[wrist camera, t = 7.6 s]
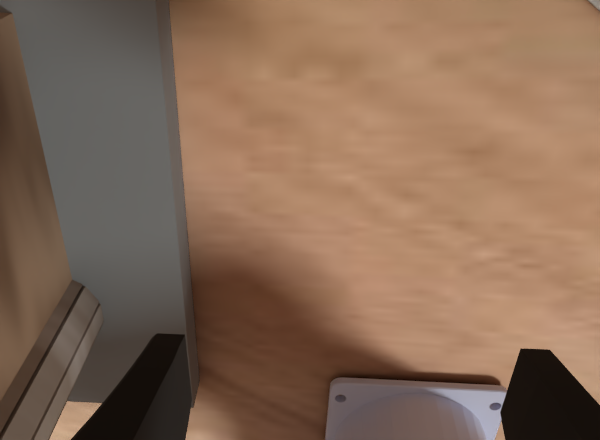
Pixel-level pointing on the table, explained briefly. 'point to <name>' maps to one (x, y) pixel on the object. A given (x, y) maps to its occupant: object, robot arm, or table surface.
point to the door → (34, 270)
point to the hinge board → (113, 170)
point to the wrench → (595, 3)
